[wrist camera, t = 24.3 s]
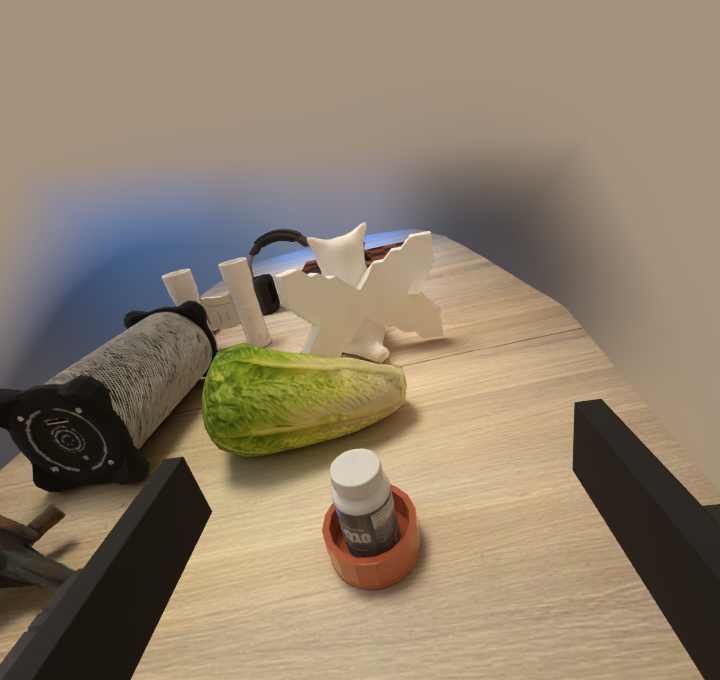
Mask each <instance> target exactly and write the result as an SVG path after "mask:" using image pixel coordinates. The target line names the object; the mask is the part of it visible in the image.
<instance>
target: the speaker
mask: <svg viewBox="0 0 720 680" xmlns="http://www.w3.org/2000/svg"><path fill="white" fill-rule="evenodd" d="M124 324H125V327H126V328H127V329H128V330H126V331H125V332H123V333H122V334H119V336H117V337H115V338H114V339H113V340H111V341H109V342H107V343H106V344H104V345H103V346H101V347H99V348H98V349H97V350H95V351H94V352H92V353H91V354H89V355H88V356H85V357H84V358H82V359H81V360H80V361H79V362H76V363H75V364H73V365H71V366H70V367H69V368H67V369H65V371H62V372H61V373H59V374H58V375H56V376H54V377H53V378H51V379H50V380H49V381H47V382H46V383H45V384H42V385H38V386H34V387H32V388H29V389H27V390H24V391H20V390H11V389H0V427H1V428H4V429H7V431H8V432H9V433H10V435H11V438H12V440H13V441H14V443H15V444H16V445H17V447H18V448H19V450H20V451H21V452H22V453H23V454H24V455H25V456H26V457H27V458H28V459H29V461H30V462H31V463H32V467H33V481H34V483H35V485H36V486H37V487H39V488H41V489H43V490H46V491H48V492H61V491H63V490H66V489H68V488H70V487H72V486H75V485H79V484H89V485H91V484H103V483H106V482H109V481H113V480H115V481H116V482H118V483H119V484H121V485H123V484H130V483H133V482H137V481H140V480H143V479H144V478H145V477H146V476H147V475H148V472H149V470H150V468H151V467H150V463H149V461H148V460H147V458H146V457H145V456H144V454H143V453H142V452H141V451H140V450H139V449H140V448H141V447H142V445H143V444H144V443H145V441H146V440H147V439H148V437H149V436H150V435H151V434H152V433H153V432H154V431H155V429H156V428H157V427H158V426H159V425H160V424H161V423H162V422H163V421H164V419H165V418H166V417H167V416H168V415H170V413H171V411H172V410H173V409H174V408H175V407H176V406H177V405H178V403H179V402H180V401H181V400H182V399H183V398H184V396H185V395H186V394H187V393H189V391H190V389H191V388H192V387H194V386H195V384H196V382H197V381H198V380H199V379H200V378H201V377H206V376H207V373H208V370H209V367H210V365H211V363H212V361H213V360H214V358H215V356H216V354H217V353H218V352H219V351H218V349H217V344H216V340H215V338H214V335H213V333H212V332H211V330H210V329H209V327H208V324H207V315H206V310H205V309H204V307H203V306H202V305H201V304H199V303H198V302H196V301H189V300H188V301H186V302H185V303H183V304H181V305H179V306H177V307H163V308H159V309H155V310H153V311H150V312H143V311H132V312H130V313H128V314H126V317H125V318H124Z"/></svg>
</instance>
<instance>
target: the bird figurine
mask: <svg viewBox="0 0 720 680" xmlns="http://www.w3.org/2000/svg"><path fill="white" fill-rule="evenodd" d="M64 517H65V513H63V512H62V511H61V510H60V509H59V508H58V507H57V506H56V505H55V504H51V505H50V506H49V507H48V508H47V509H46V510H45V511H44V512H43V513H42V514H40V515H39V516H38V517H37V518H35V519H34V520H33V521H32V522H31V523H29V524H28V525H27V526H25V525H23V524H20V523H18V522H16V521H14V520H11V519H9V518H6V517H4V516H2V515H0V588H8V587H23V586H31V585H37V586H39V587H42V588H46V589H48V590H50V591H53V592H56V590H57V589H58V588H59V587H60V586H61V585H62V584H63V583H64V582H65V581H66V580H67V579H68V578H69V577H71V576H72V575H73V574H74V573H75V572H76V571H74V570H72V569H70V568H69V567H67V566H66V565H64V564H61V563H58V562H56V561H54V560H51V559H49V558H46V557H45V556H43V555H42V554H41V553H39V552H38V551H36V550H35V549H33V548H32V546H33V544H34V543H35V542H36V541H37V540H39V539H40V538H41V537H42V536H43V535H44V534H45V533H46V532H47V531H48V530H49V529H50V528H52V527H53V526H54V525H55V524H57V523H58V522H59V521H60V520H61V519H63V518H64Z"/></svg>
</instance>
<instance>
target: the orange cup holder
mask: <svg viewBox="0 0 720 680" xmlns="http://www.w3.org/2000/svg"><path fill="white" fill-rule="evenodd" d="M390 486H391V491H392V496H393V500H394V505H395V510H396V514H397V519H398V523H399V528H400V533H401V539H400V541H399V542H398V543H397V544H396V545H395V546H394V547H393V548H392V549H391V550H389V551H387V552H385V553H382V554H380V555H378V556H376V557H362V558H356V557H354V556H352V555H351V553H350V552H349V550H348V548H347V545H346V542H345V539H344V535H343V532H342V529H341V525H340V522H339V519H338V516H337V513H336V510H335V507H334V503H333V504H332V505H331V507H330V508H329V510H328V511H327V513H326V515H325V519H324V524H323V529H322V532H323V536H324V540H325V544H326V547H327V550H328V553H329V556H330V558H331V561H332V564H333V566H334V567H335V569H336V571H337V573H338V574H339V575H340V577H341V578H342V579H343V580H345V581H346V582H347V583H349V584H351V585H353V586H355V587H358V588H362V589H370V590H374V589H381V588H385V587H388V586H391V585H393V584H395V583H397V582H398V581H400V580H401V579H402V578H404V577H405V576H406V575H407V574H408V573H409V572H410V570H411V569H412V568H413V566H414V565H415V563H416V561H417V559H418V556H419V553H420V547H421V539H420V529H419V524H418V519H417V514H416V509H415V507H414V505H413V503H412V501H411V500H410V498H409V496H408V495H407V494H406V493H404V492H403V491H401V490H400V489H399V488H397V487H395V486H393V485H390Z"/></svg>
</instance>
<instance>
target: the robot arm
mask: <svg viewBox="0 0 720 680" xmlns="http://www.w3.org/2000/svg"><path fill="white" fill-rule="evenodd" d="M573 471H574V473H575V474H576V476H577V478H578V479H579V481H580V482H581V484H582V486H583V487H584V489H585V490H586V492H587V494H588V495H589V497H590V498H591V500H592V501H593V503H594V505H595V506H596V508H597V509H598V511H599V513H600V514H601V516H602V517H603V519H604V521H605V522H606V524H607V525H608V527H609V528H610V530H611V532H612V533H613V535H614V536H615V538H616V540H617V541H618V543H619V544H620V546H621V548H622V549H623V551H624V552H625V554H626V555H627V557H628V559H629V560H630V562H631V563H632V565H633V567H634V568H635V570H636V571H637V573H638V575H639V576H640V578H641V579H642V581H643V582H644V584H645V586H646V587H647V589H648V590H649V592H650V594H651V595H652V597H653V598H654V600H655V602H656V603H657V605H658V606H659V608H660V610H661V611H662V613H663V614H664V616H665V617H666V619H667V621H668V622H669V624H670V625H671V627H672V629H673V630H674V632H675V633H676V635H677V637H678V638H679V640H680V641H681V643H682V644H683V646H684V648H685V649H686V651H687V652H688V654H689V656H690V657H691V659H692V660H693V662H694V664H695V665H696V667H697V668H698V670H699V671H700V673H701V675H702V676H703V678H704V679H705V680H720V504H717V505H707V506H702V505H701V504H700V503H699V502H698V501H697V500H696V499H695V498H694V497H693V496H692V495H691V494H690V493H689V491H688V490H687V489H686V488H685V487H684V486H683V485H682V484H681V483H680V482H679V481H678V480H677V479H676V478H675V477H674V476H673V474H672V473H671V472H670V471H669V470H668V469H667V468H666V467H665V466H664V465H663V464H662V463H661V462H660V461H659V460H658V459H657V457H656V456H655V455H654V454H653V453H652V452H651V451H650V450H649V449H648V448H647V447H646V446H645V445H644V444H643V443H642V442H641V441H640V439H639V438H638V437H637V436H636V435H635V434H634V433H633V432H632V431H631V430H630V429H629V428H628V427H627V426H626V425H625V424H624V422H623V421H622V420H621V419H620V418H619V417H618V416H617V415H616V414H615V413H614V412H613V411H612V410H611V409H610V408H609V407H608V406H607V404H606V403H605V402H604V401H603V400H602V399H596V400H589V401H582V402H575V407H574V440H573ZM211 513H212V510H211V508H210V507H209V505H208V503H207V501H206V499H205V497H204V495H203V493H202V491H201V489H200V488H199V486H198V484H197V482H196V480H195V478H194V476H193V474H192V472H191V470H190V468H189V467H188V465H187V463H186V461H185V459H184V457H178V458H171V459H164V460H163V461H162V462H161V464H160V465H159V466H158V468H157V469H156V471H155V472H154V473H153V475H152V476H151V477H150V479H149V480H148V481H147V483H146V484H145V485H144V487H143V488H142V490H141V491H140V492H139V494H138V495H137V496H136V498H135V499H134V500H133V502H132V503H131V504H130V506H129V507H128V509H127V510H126V511H125V513H124V514H123V515H122V517H121V518H120V519H119V521H118V522H117V524H116V525H115V526H114V528H113V529H112V530H111V532H110V533H109V534H108V536H107V537H106V538H105V540H104V541H103V543H102V544H101V545H100V547H99V548H98V549H97V551H96V552H95V553H94V555H93V556H92V557H91V559H90V560H89V562H88V563H87V564H86V566H85V567H84V568H83V569H78V570H77V571H76V572H75V573H74V574H73V575H72V576H71V577H69V578H68V579H67V580H66V581H65V582H64V583H63V584H62V585H61V586H60V587H59V588H58V589H57V590H56V592H55V593H54V594H53V596H52V597H51V598H50V600H49V601H48V602H47V603H46V605H45V606H44V607H43V609H42V613H41V614H38V615H37V617H36V618H35V619H34V621H33V622H32V623H31V624H30V626H29V627H28V628H29V629H28V631H27V632H24V634H23V635H22V636H21V638H20V639H19V640H18V642H17V643H16V644H15V645H14V647H13V648H12V649H11V651H10V652H9V653H8V655H7V656H6V657H5V659H4V660H3V661H2V663H1V664H0V680H131V678H132V676H133V673H134V671H135V669H136V667H137V665H138V663H139V661H140V659H141V657H142V655H143V653H144V651H145V649H146V647H147V645H148V643H149V641H150V638H151V636H152V634H153V632H154V630H155V628H156V626H157V624H158V622H159V620H160V618H161V616H162V614H163V612H164V610H165V608H166V606H167V603H168V601H169V599H170V597H171V595H172V593H173V591H174V589H175V587H176V585H177V583H178V581H179V579H180V577H181V575H182V573H183V571H184V569H185V566H186V564H187V562H188V560H189V558H190V556H191V554H192V552H193V550H194V548H195V546H196V544H197V542H198V540H199V538H200V536H201V534H202V531H203V529H204V527H205V525H206V523H207V521H208V519H209V517H210V515H211Z"/></svg>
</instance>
